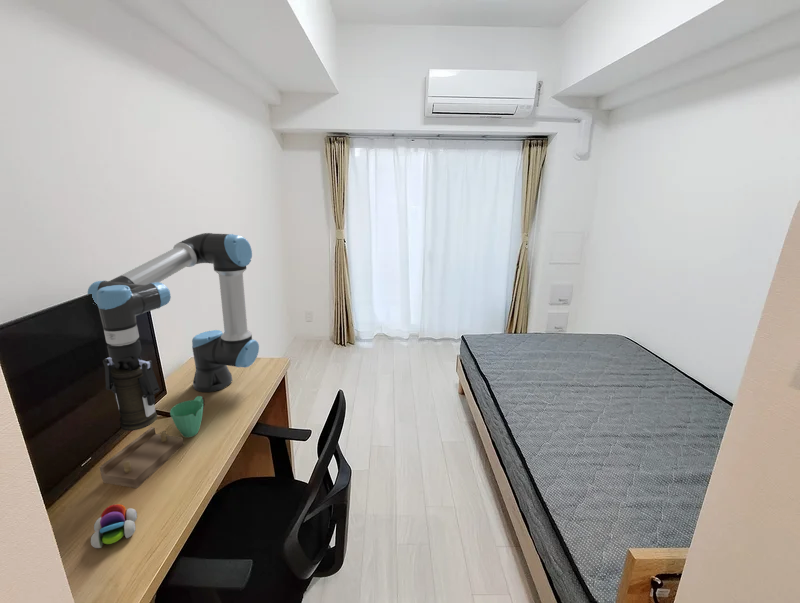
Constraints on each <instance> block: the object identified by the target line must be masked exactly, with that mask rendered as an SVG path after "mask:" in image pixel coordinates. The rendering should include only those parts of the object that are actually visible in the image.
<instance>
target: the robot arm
mask: <svg viewBox="0 0 800 603" xmlns="http://www.w3.org/2000/svg"><path fill="white" fill-rule="evenodd" d="M252 257H253V250H252V247H251V244H250V242H249V241H248V240H247V238H245V237H244V236H242V235H238V234H233V233H212V232H206V233H205V232H204V233H200V234H196V235H193V236H191V237H188V238H186V239H183V240H182V241H180V242H177V243H176V244H174V246H173V248H171V249H170V250H168V251H166V252H164V253H162V254H160V255H158V256H156V257H154V258H152V259H151V260H148V261H147V262H145V263H142V264H139V266H137V267H135V268H132V269H130V270H129V271H126V272H125V273H122V274H121V275H119V276H117V277H114V278H113V279H111V280H96V281H94V282H93V283H91V284H90V285H89V287H88V289H87V295H88V294H92V298H93V300H94V302H95V303H96V304H97V305H96V304H95V305H96V306H97V307H98V312H99V316H100V320H101V324H102V329H103V333H104V338H105V343H106V344H107V345H106V348H107V353H108V357H107V358H104V359H103V360H102V363H103V366H104V376H105V379H104V380H105V389H106V390H107V391H111V392H112V393H113V394H114V400H115V402H116V403H117V407H118V409H119V404H118V400H117V395H116V390H115V386H114V380H113V378H112V376H111V374H110V372H111V370H112V369H113V368H114V367H116V368H115V369H117V370H120V369H127V370H128V371H133V370H135V369H137V368H139V367H140V366H141V367H140V369H142V373H143V376H142V377H140V378H138V382H139V384H140V385H139V386H140V388H141V390H142V392H143V393H144V396H143V397H142V398H143V403H144V409H145V414H146V417H149V416H150V415H152V414H153V413H154V412H155V410H156V407H155V404H156V399H155V394H157V393H158V392H160V391H161V389H160V385H159V383H158V380H157V376H156V374H155V372H154V368H153V361H152V360H150V359H149V360H147V361H146V360H143V358H142V357H141V353H142V345H141V340H140V339H139V338H140V334H139V328H138V322H137V316H140V315H143V314H145V313H147V312H151V311H154V310H157V309H158V310H159V309H160V308H161V307H162V308H163V307H164V306H167V305H168V304H169V302H170V301H171V298H172V297H171V291H170V289H169V288H168V286H167V285H165V284H164V283H162V281H164V280H166V279H168V278H169V277H171V276H173V275H174V274H176V273H178V272H180V271H181V270H183V269H185V268H186V267H187V268H192V267H194V266H196V265H198V264H211V265H212V266H213V271H214V272H215V273H216V274H218V279H219V290H220V298H221V299H220V300H221V301H220V302H221V308H222V322H223V331H224V332H223V331H222V330H219V329H218V330H217V329H215V330H208V331H203V332H200V333H198V334H196V335H195V336H193V338H192V340H191V343H192V344H191V345H192V352H193V359H194V366H195V372H194V377H193V380H192V385H193V389H194V390H195V391H197V392H199V393H200V392H201V393H212V392H217V391H220V390H223V389H225V388H227V387H228V386H230V385H231V384H232V382H233V374H232V373H231V372H230V370H229V367H228V366H230V367H234V368H235V367H236V368H249V367H251V366H252V365H253V364H254V362H255V361H256V359H257V358H258V355H259V352H260V345H259V342H258V341H257V340H256V339H253V334H252V332H251V331H250V330H248V323H247V321H248V320H247V309H246V308H247V307H246V298H245V285H244V273H245V272H246V270H247V266H248V265H250V263H251V261H252ZM231 381H232V382H231ZM230 383H231V384H230ZM229 384H230V385H229ZM227 385H228V386H227ZM226 386H227V387H226ZM224 387H225V388H224ZM148 390H149V391H148ZM118 413H119V414H120V412H118Z"/></svg>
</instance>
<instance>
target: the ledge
mask: <svg viewBox="0 0 800 603" xmlns="http://www.w3.org/2000/svg"><path fill="white" fill-rule="evenodd" d="M183 446H184V439H183V436H175V435H167V431H165V430H163V431H160V433H156V427H155V426H151V427H149V428H148V429H147V430H146V431H145V432H143V433H142V434H140V435H139V436H138V437H137V438H135V439H134V440H133V441H131V442H130V443H129V444H127V445H126V446H125V447H124V448H122V449H121V450H119V451H118V452H117V453H115V455H113V456H112V457H111V458H109V459H108V460H107V461H106V462H104V463H102V464H101V465H100V466H99V471H100V475H101V476H100V477H101V479H102V483H103V484H110V485H116V486H123V487H127V488H134V489H138V488H139V487H140V486H141V485H142V484H143V483H145V482H146V481H147V480H148V479H149V478H150V477H151V476H152V475H153V474H154V473H155V472H156V471H157V470H159V468H161V467H162V466H163V465H164V464H165V463H166V462H167V461H168V460H169V459H170V458H172V456H174V455H175V454H176V453H177V452H178V451H179V450H180V449H181V448H182V447H183Z"/></svg>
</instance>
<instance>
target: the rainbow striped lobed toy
mask: <svg viewBox="0 0 800 603" xmlns="http://www.w3.org/2000/svg"><path fill="white" fill-rule="evenodd" d="M137 518H138V513H137V510H136V509H134V508H131V507H129V508H127V509H126V506H125V505H123V504H119V503H116V504H111V505H108V506H107V507H106V508H105V509H104V510H103V512H101V515H100V516H99V517H98V518H97V519H96V521H95V522H94V525H93V529H94V533H93V534H92V535H91V537H90V544H91V546H92V547H93V548H94V549H102V547H103V546H104V544H105V545H112V544H115V543H116V542H118V541H119V540H122V538H123V537H124V536H125V538H126V539H129V538H131V536H133V535H134V534H135V531H136V524H135V522H136V521H137Z"/></svg>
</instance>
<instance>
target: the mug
mask: <svg viewBox="0 0 800 603" xmlns="http://www.w3.org/2000/svg"><path fill="white" fill-rule="evenodd" d="M204 410H205V398H204V397H203V396H201V395H197V396H196V397H195V398H194V399H193V400H191V399H190V400H186V401H185V400H184V401H181V402H179V403H177V404H175V405H174V406H172V407H171V409H170V411H169V415H170V417H171V419H172V422H173V424H174V425H175V428H177V430H178V432H179V433H180V434H181V436H182V438H183V437H184V438H192V437H194V436H196V435H198V433H199V430H200V428H201V423H202V419H203V415H204Z"/></svg>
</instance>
